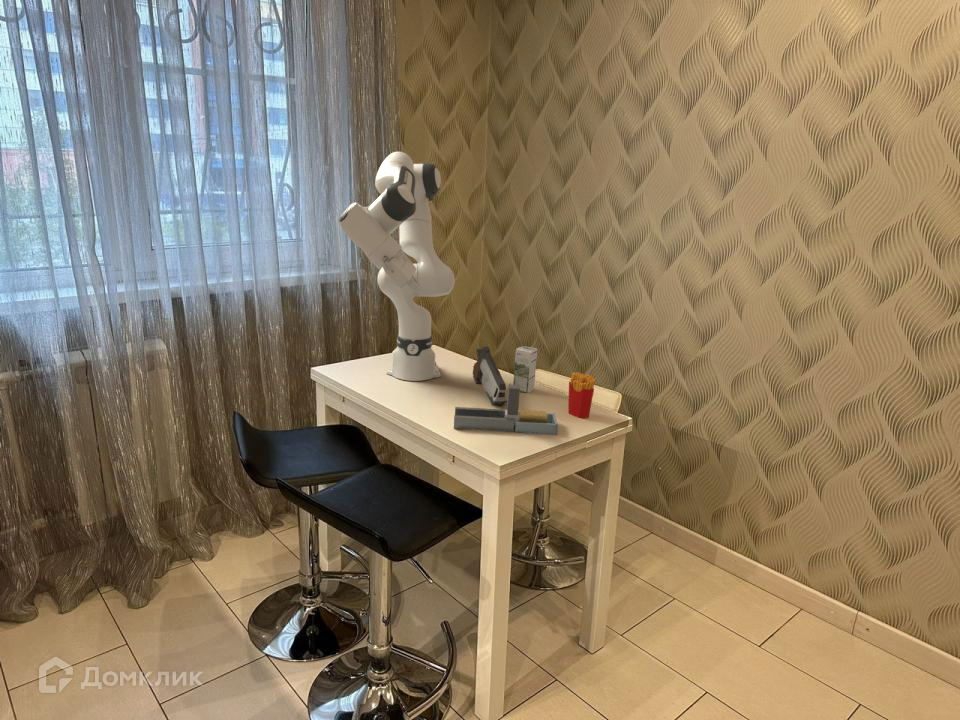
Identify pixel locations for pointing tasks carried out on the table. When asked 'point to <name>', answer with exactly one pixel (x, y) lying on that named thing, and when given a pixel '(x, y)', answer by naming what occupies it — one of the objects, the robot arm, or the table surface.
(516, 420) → the tall gray pillar
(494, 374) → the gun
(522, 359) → the syrup box
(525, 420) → the golden tan cube
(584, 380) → the french fries
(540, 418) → the mustard yellow cube
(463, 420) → the slot bed
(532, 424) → the tray
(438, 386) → the table surface
